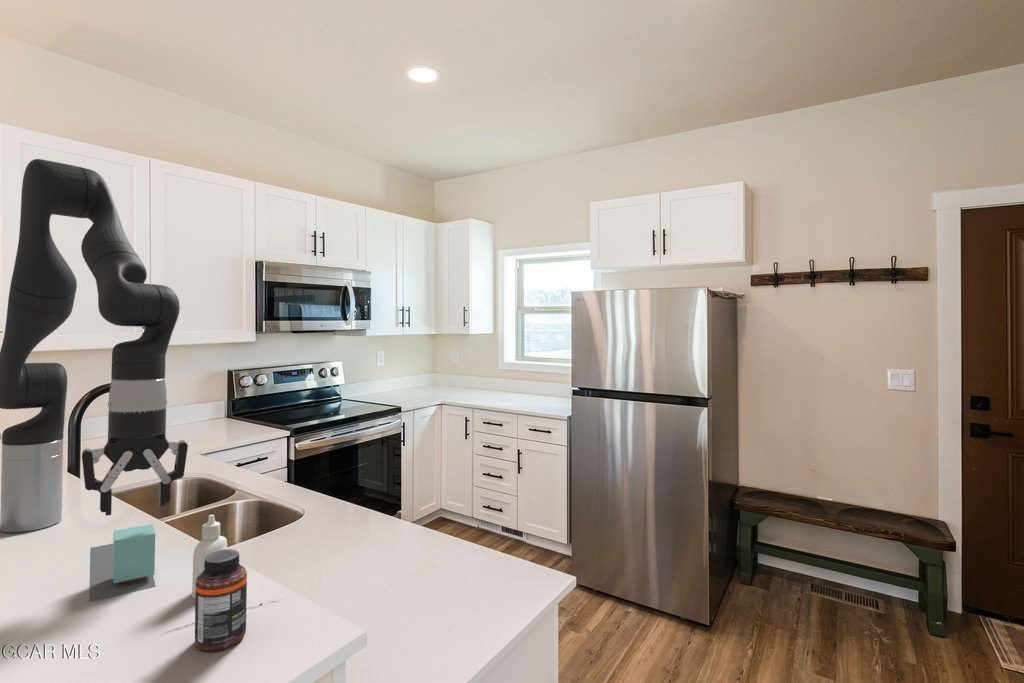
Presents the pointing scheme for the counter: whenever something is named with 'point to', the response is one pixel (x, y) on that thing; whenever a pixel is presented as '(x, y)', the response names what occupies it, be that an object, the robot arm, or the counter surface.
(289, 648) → the counter surface
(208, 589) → the supplement bottle
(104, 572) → the mat
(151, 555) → the teal rectangular block
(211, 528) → the eye dropper bottle
